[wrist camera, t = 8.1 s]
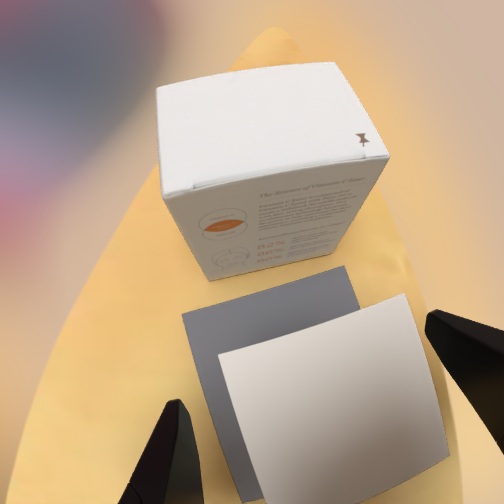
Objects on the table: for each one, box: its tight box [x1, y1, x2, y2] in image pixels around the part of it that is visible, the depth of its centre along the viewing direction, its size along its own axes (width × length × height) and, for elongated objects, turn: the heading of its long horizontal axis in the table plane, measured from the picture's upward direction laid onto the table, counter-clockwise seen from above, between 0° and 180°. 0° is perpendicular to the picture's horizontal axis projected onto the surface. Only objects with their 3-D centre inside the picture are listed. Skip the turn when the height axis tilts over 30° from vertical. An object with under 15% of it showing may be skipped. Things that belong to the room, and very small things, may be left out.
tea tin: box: [218, 293, 450, 504], centre depth 12 cm, size 5×5×10 cm
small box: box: [156, 62, 390, 281], centre depth 15 cm, size 8×6×10 cm
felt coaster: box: [182, 266, 361, 503], centre depth 17 cm, size 12×10×1 cm
